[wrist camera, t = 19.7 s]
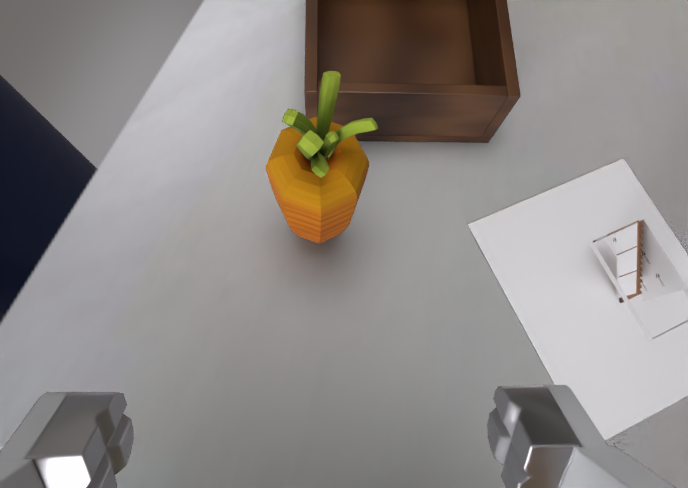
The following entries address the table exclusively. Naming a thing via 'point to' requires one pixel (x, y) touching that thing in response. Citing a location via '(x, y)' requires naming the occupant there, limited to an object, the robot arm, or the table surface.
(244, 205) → the table surface
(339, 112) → the basket
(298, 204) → the carrot
